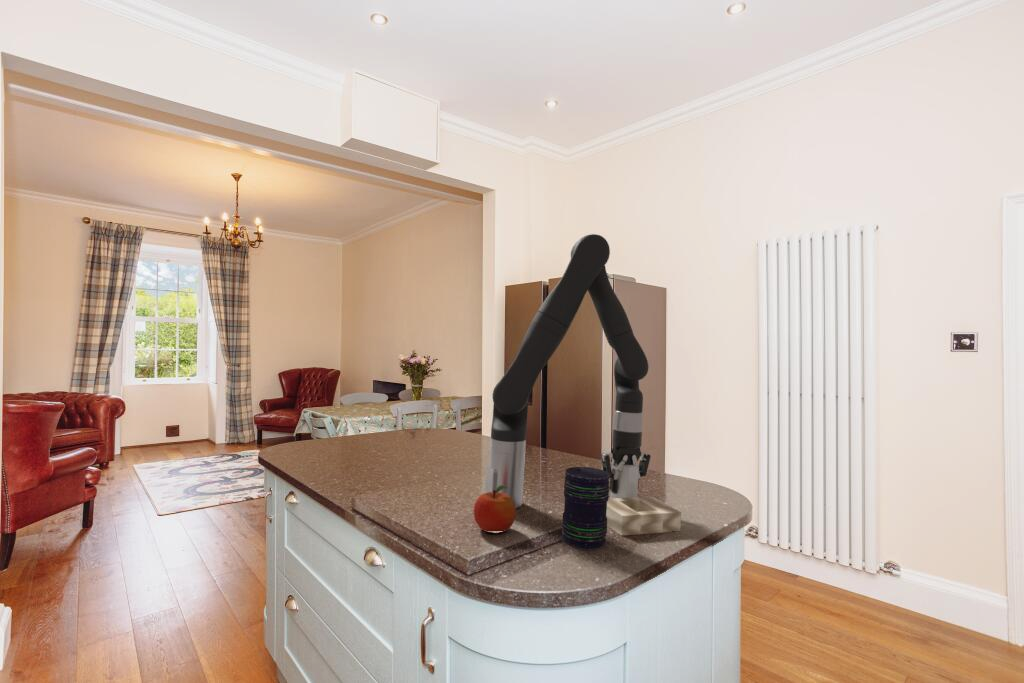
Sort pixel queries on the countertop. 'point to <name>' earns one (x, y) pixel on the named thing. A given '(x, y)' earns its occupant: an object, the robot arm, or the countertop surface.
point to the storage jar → (585, 507)
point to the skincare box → (627, 482)
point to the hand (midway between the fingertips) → (623, 492)
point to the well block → (641, 516)
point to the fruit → (494, 510)
